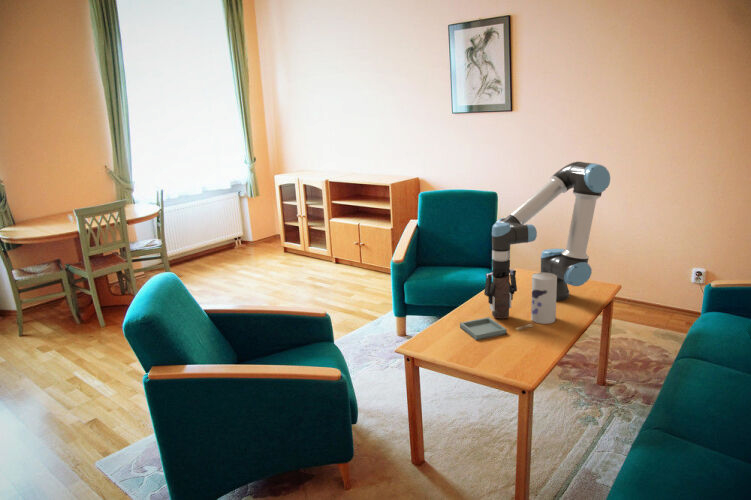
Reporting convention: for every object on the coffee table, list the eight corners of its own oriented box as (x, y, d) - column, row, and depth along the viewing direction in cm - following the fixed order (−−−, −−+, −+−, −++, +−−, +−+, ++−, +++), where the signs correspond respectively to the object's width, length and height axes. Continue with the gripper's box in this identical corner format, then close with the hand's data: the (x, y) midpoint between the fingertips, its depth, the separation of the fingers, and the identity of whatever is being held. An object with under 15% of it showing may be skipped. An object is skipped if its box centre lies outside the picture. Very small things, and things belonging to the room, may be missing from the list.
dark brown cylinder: (509, 321, 228) (510, 277, 222) (492, 320, 229) (492, 277, 224) (508, 314, 235) (509, 271, 230) (491, 313, 236) (492, 271, 231)
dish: (488, 321, 228) (488, 317, 228) (506, 334, 215) (506, 329, 215) (459, 327, 224) (459, 322, 223) (476, 340, 211) (476, 335, 211)
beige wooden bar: (531, 326, 222) (531, 323, 222) (533, 327, 221) (533, 324, 221) (516, 330, 219) (516, 327, 219) (518, 331, 218) (518, 328, 218)
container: (527, 320, 227) (528, 276, 222) (537, 313, 234) (538, 270, 229) (549, 326, 220) (550, 281, 215) (559, 318, 227) (561, 274, 222)
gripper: (516, 253, 231) (515, 302, 237) (475, 260, 225) (475, 309, 231) (526, 257, 224) (525, 307, 230) (484, 264, 218) (484, 315, 224)
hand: (500, 308), depth 231 cm, fingers open, 8 cm apart
